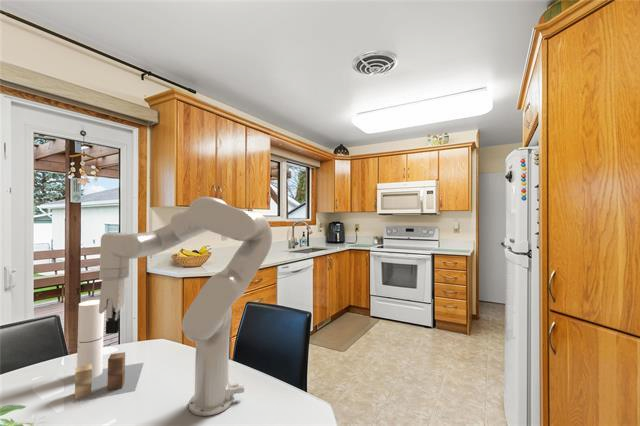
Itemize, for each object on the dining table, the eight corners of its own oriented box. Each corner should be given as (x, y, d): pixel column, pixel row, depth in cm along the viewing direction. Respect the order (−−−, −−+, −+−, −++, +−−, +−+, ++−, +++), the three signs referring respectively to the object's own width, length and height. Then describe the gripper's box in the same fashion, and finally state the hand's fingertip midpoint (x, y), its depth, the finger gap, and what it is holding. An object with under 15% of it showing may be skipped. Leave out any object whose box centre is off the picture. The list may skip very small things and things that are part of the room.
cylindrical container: (88, 381, 101) (90, 306, 101) (71, 378, 102) (73, 304, 103) (107, 370, 108) (109, 300, 108) (91, 368, 109) (92, 299, 110)
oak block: (90, 388, 97) (91, 363, 97) (91, 394, 94) (91, 368, 94) (74, 393, 94) (75, 367, 94) (74, 399, 91) (75, 372, 91)
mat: (143, 363, 114) (143, 362, 114) (134, 391, 96) (135, 390, 96) (92, 371, 108) (92, 370, 108) (72, 403, 90) (72, 402, 90)
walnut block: (124, 382, 101) (125, 352, 101) (122, 388, 97) (122, 357, 97) (110, 384, 99) (111, 354, 99) (107, 391, 96) (108, 359, 96)
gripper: (106, 269, 99) (104, 325, 98) (92, 278, 85) (90, 344, 85) (132, 268, 101) (130, 323, 101) (124, 277, 88) (121, 340, 88)
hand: (112, 332), depth 93 cm, fingers closed
